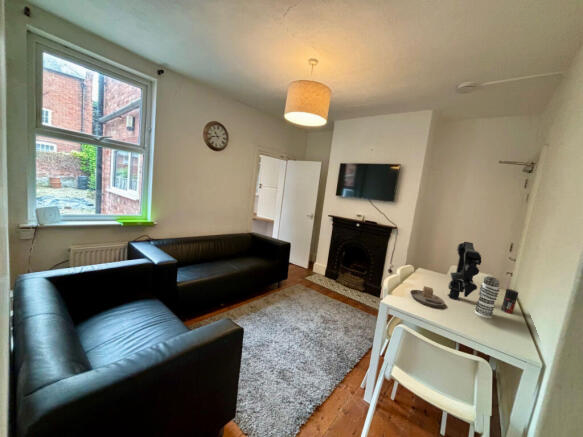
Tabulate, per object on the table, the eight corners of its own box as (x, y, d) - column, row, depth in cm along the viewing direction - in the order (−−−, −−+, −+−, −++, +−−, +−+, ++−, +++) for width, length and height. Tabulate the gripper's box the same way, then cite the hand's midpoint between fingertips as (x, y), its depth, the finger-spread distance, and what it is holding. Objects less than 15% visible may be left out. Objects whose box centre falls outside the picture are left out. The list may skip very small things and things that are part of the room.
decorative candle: (496, 318, 144) (506, 281, 140) (484, 318, 142) (494, 280, 139) (482, 310, 153) (491, 275, 149) (470, 310, 151) (479, 274, 148)
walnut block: (422, 294, 160) (423, 286, 159) (430, 296, 158) (432, 288, 158) (423, 296, 156) (425, 288, 155) (431, 299, 154) (433, 290, 153)
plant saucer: (433, 296, 167) (434, 292, 166) (450, 311, 146) (451, 306, 146) (404, 291, 168) (405, 287, 168) (417, 306, 148) (418, 301, 148)
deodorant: (509, 310, 158) (515, 290, 156) (514, 314, 153) (520, 293, 151) (499, 308, 160) (504, 288, 158) (503, 312, 155) (509, 291, 152)
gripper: (449, 263, 155) (444, 285, 157) (457, 271, 138) (452, 296, 140) (469, 267, 151) (463, 289, 153) (480, 276, 134) (473, 301, 136)
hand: (462, 293), depth 146 cm, fingers open, 9 cm apart
